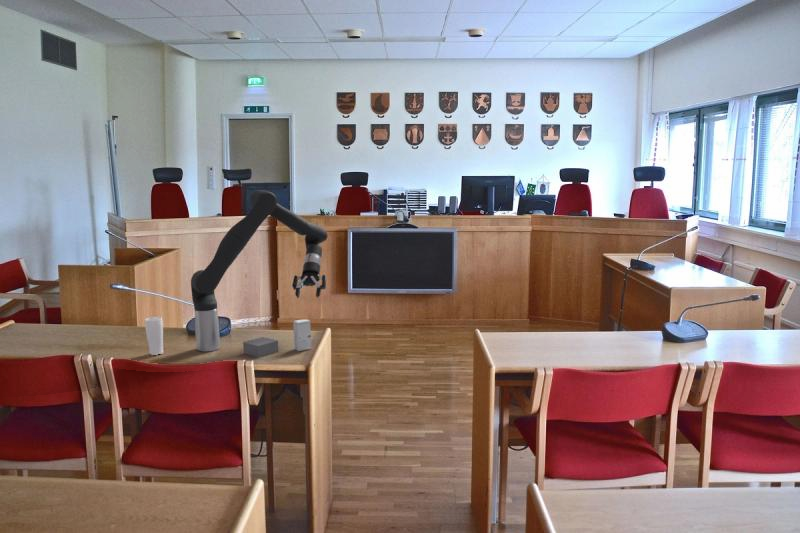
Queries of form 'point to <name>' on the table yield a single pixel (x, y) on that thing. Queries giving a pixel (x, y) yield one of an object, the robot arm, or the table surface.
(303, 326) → the skincare box
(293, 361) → the table surface
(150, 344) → the drinking glass
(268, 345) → the charcoal block
